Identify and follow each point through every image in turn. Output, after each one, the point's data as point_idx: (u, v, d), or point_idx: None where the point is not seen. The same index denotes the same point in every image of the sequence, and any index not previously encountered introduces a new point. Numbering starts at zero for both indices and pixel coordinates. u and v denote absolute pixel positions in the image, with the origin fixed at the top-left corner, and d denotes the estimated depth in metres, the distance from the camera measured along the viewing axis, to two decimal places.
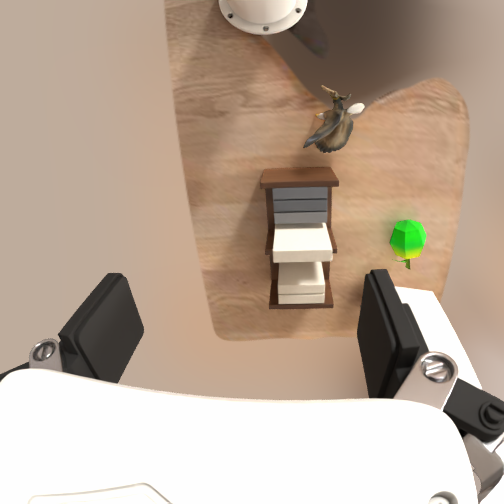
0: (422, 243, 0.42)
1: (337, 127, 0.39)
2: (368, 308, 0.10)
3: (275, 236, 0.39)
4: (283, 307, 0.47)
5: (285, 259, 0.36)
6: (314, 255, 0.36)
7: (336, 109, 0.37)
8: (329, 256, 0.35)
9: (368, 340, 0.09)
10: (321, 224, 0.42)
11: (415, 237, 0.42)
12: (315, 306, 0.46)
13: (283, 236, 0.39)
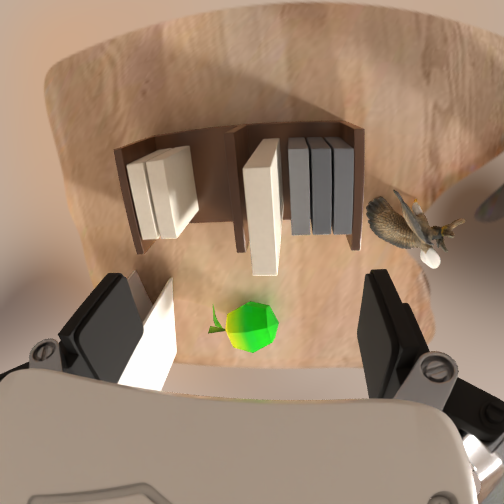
0: (254, 350, 0.35)
1: (407, 231, 0.29)
2: (368, 308, 0.10)
3: (274, 156, 0.20)
4: (121, 174, 0.24)
5: (251, 192, 0.17)
6: (263, 246, 0.19)
7: (431, 233, 0.28)
8: (263, 271, 0.20)
9: (368, 340, 0.09)
10: (281, 222, 0.26)
11: (261, 341, 0.34)
12: (133, 227, 0.26)
13: (275, 172, 0.20)
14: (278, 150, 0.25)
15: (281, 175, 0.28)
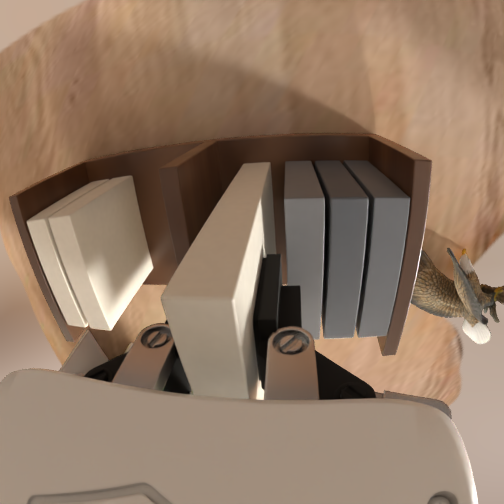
0: None
1: (453, 299, 0.18)
2: None
3: (255, 225, 0.09)
4: (22, 234, 0.13)
5: (191, 347, 0.07)
6: None
7: (484, 301, 0.17)
8: None
9: None
10: None
11: None
12: (53, 308, 0.16)
13: (257, 257, 0.10)
14: (267, 189, 0.14)
15: (273, 223, 0.18)
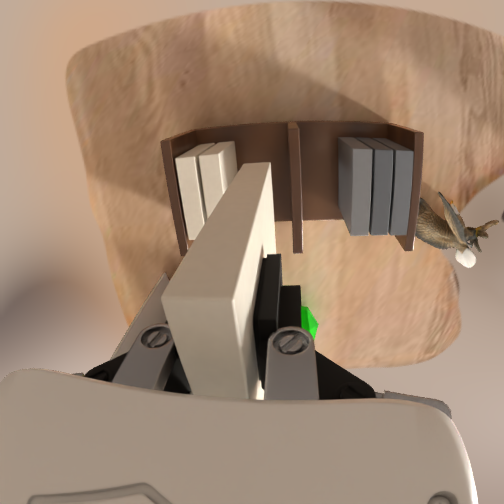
0: None
1: (446, 232, 0.28)
2: None
3: (255, 225, 0.09)
4: (168, 168, 0.23)
5: (191, 347, 0.07)
6: None
7: (468, 234, 0.27)
8: None
9: None
10: None
11: None
12: (179, 226, 0.25)
13: (257, 257, 0.10)
14: (267, 190, 0.14)
15: (273, 223, 0.18)
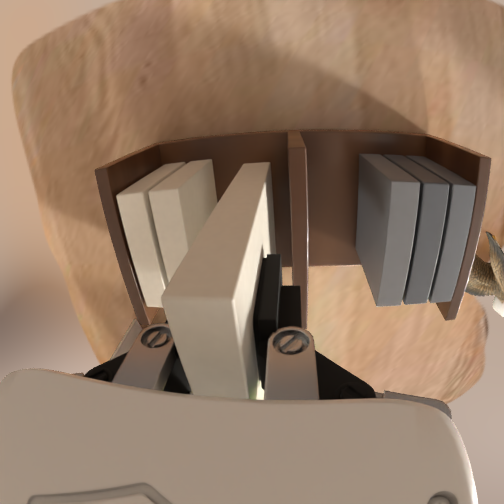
0: None
1: (487, 278, 0.20)
2: None
3: (255, 225, 0.09)
4: (108, 209, 0.15)
5: (191, 347, 0.07)
6: None
7: None
8: None
9: None
10: None
11: None
12: (132, 289, 0.17)
13: (257, 257, 0.10)
14: (267, 190, 0.14)
15: (273, 223, 0.18)
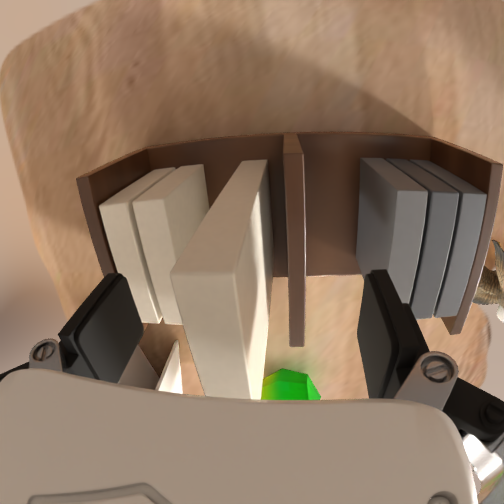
0: None
1: (491, 287, 0.19)
2: (368, 308, 0.10)
3: (253, 214, 0.10)
4: (91, 220, 0.13)
5: (195, 321, 0.08)
6: None
7: None
8: None
9: (368, 340, 0.09)
10: (269, 301, 0.16)
11: None
12: None
13: (255, 244, 0.11)
14: (264, 184, 0.15)
15: (270, 218, 0.19)
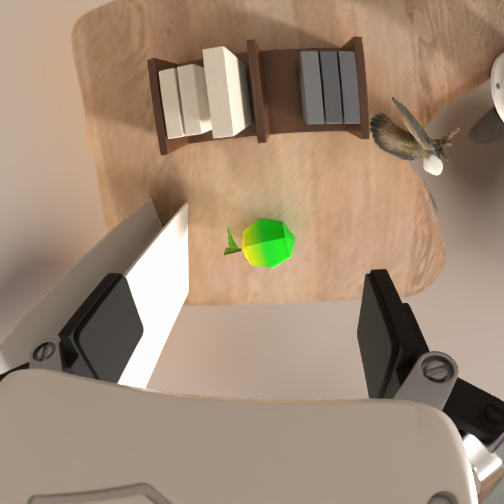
0: (272, 265, 0.35)
1: (409, 141, 0.30)
2: (368, 308, 0.10)
3: (232, 55, 0.22)
4: (152, 79, 0.25)
5: (209, 66, 0.19)
6: (220, 109, 0.20)
7: (431, 142, 0.29)
8: (221, 133, 0.21)
9: (368, 340, 0.09)
10: (245, 121, 0.27)
11: (279, 253, 0.35)
12: (160, 127, 0.27)
13: (234, 66, 0.22)
14: (242, 66, 0.26)
15: (248, 93, 0.30)
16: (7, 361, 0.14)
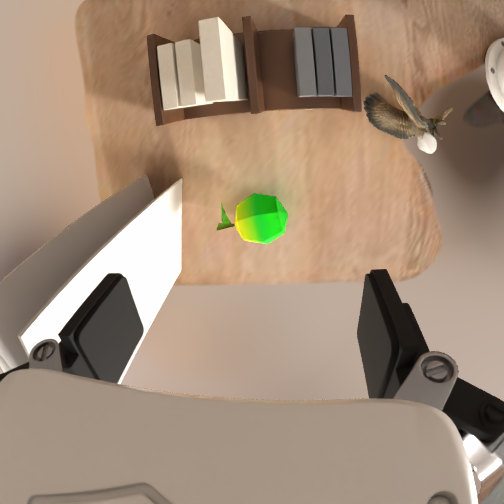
0: (264, 239, 0.35)
1: (403, 119, 0.29)
2: (368, 308, 0.10)
3: (228, 28, 0.21)
4: (151, 53, 0.24)
5: (204, 35, 0.18)
6: (214, 74, 0.20)
7: (425, 120, 0.28)
8: (214, 96, 0.21)
9: (368, 340, 0.09)
10: (240, 94, 0.27)
11: (271, 228, 0.35)
12: (156, 98, 0.27)
13: (229, 39, 0.22)
14: (238, 43, 0.26)
15: (243, 70, 0.30)
16: None
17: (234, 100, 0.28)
